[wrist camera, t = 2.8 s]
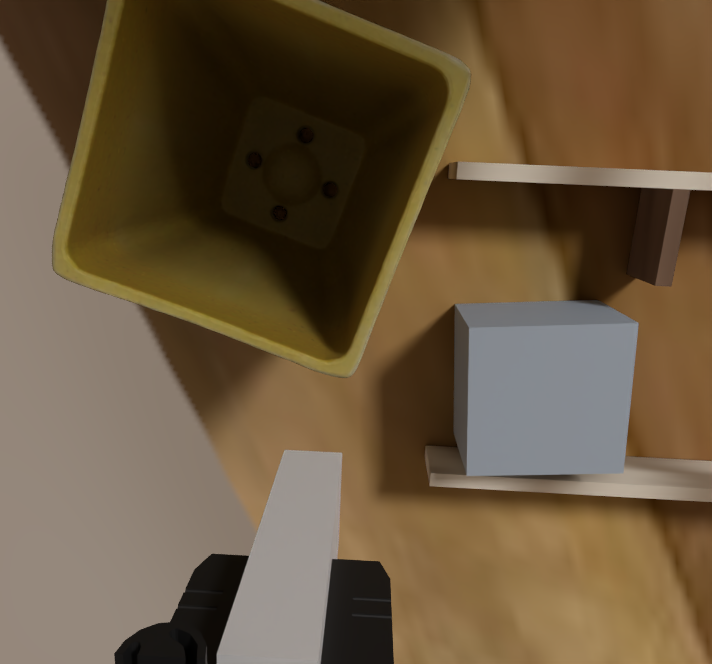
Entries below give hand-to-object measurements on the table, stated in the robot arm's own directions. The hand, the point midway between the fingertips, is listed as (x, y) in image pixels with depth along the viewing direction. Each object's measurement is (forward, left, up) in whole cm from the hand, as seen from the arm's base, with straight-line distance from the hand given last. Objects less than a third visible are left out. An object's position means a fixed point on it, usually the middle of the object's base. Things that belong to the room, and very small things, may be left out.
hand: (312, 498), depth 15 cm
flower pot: (-8, 0, -11) cm, 14 cm away
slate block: (+2, +8, -11) cm, 13 cm away
